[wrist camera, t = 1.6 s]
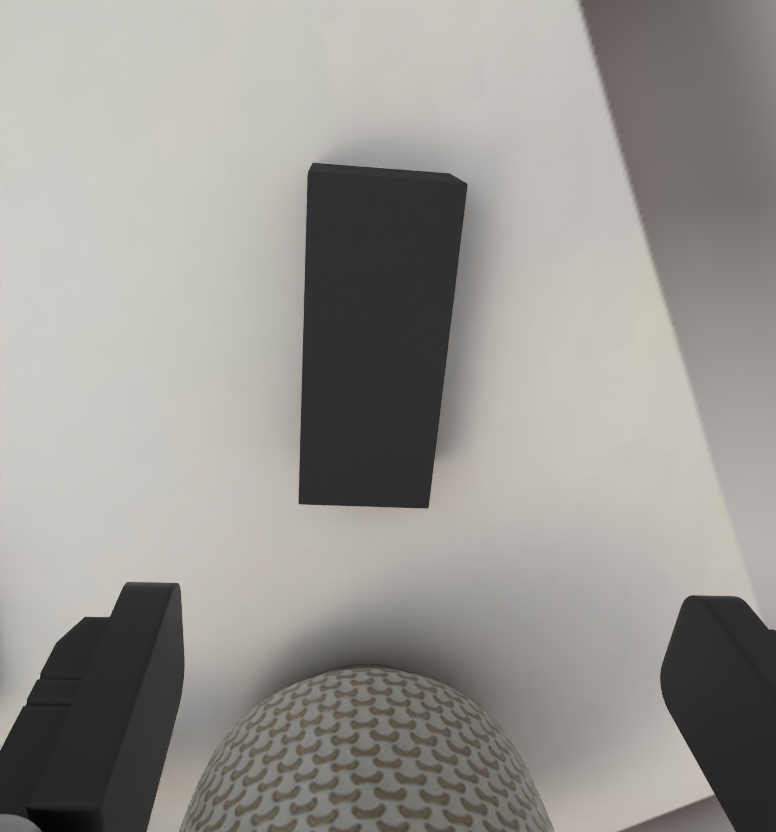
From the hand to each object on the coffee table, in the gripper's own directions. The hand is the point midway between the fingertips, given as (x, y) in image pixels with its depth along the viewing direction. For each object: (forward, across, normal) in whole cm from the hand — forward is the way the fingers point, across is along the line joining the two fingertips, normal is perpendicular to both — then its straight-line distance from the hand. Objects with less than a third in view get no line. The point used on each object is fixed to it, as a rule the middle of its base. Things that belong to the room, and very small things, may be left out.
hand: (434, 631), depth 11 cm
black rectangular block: (+17, 0, 0) cm, 17 cm away
